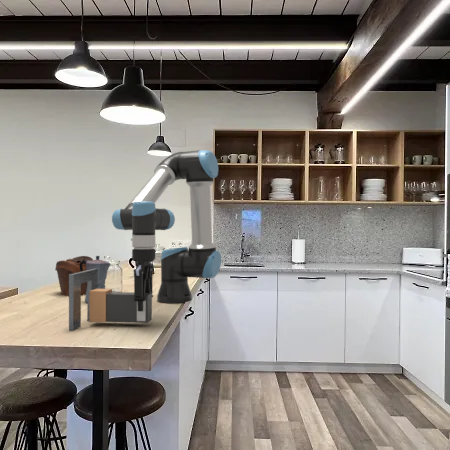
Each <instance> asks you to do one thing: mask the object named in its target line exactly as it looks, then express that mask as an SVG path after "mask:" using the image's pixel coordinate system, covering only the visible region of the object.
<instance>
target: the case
mask: <svg viewBox="0 0 450 450" xmlns="http://www.w3.org/2000/svg"><path fill="white" fill-rule="evenodd" d="M83 259H84V260H88V261H92V260H94V259H93V258H92V257H90V256H88V255H81V256H76V257H73V258H68V259H66V260H65V259H64V260H58V261H57V262H56V264H55V271H56V274H57V279H58V284H59V288H60V289H59V290H60V293H61V295H63V296H69V274H73V273H78V272H81V270H80V263H81V262H82V261H83ZM82 267H83V271H86V270H87V269H86V265H85V264H82ZM86 291H87V282H85V283H81V296H82V295H86Z"/></svg>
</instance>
